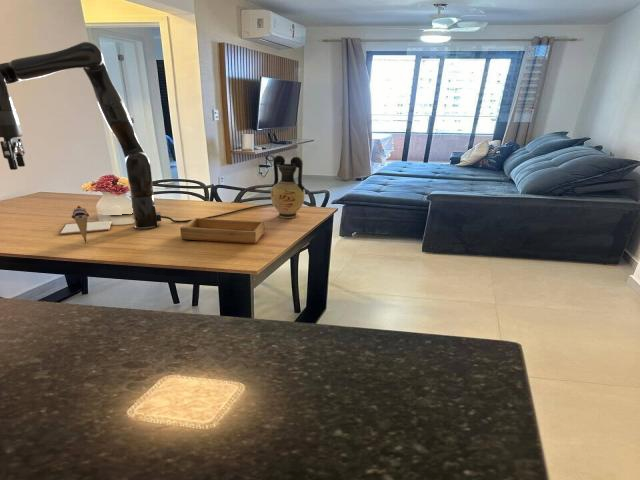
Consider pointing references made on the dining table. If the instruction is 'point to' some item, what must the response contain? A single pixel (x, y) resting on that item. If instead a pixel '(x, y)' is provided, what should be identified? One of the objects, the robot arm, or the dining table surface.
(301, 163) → the amphora
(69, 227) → the white flat slab
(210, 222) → the tray
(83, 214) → the ice cream cone
